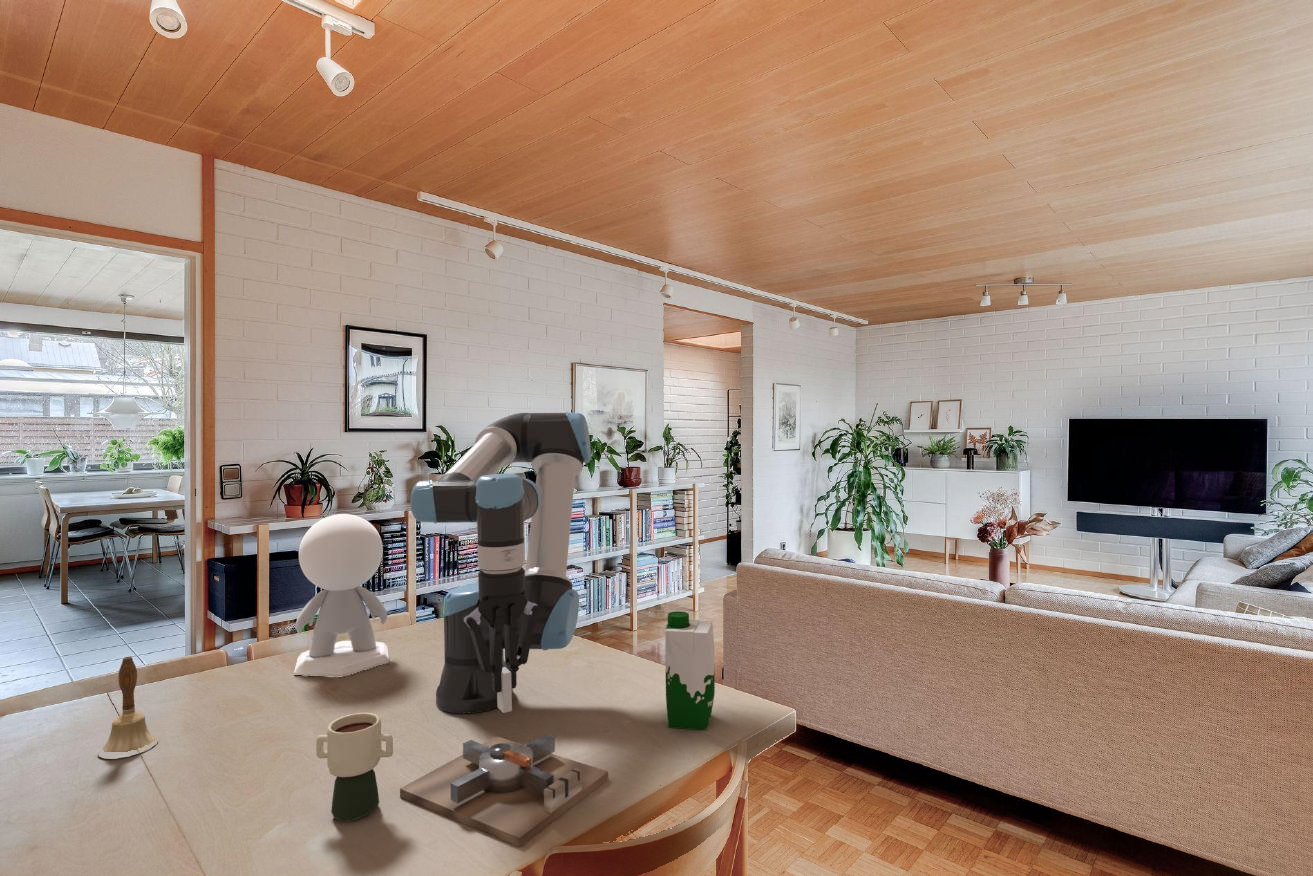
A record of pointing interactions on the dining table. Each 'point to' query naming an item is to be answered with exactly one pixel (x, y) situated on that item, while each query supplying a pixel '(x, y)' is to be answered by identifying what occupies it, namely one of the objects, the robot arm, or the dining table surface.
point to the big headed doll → (341, 597)
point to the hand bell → (128, 716)
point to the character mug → (354, 762)
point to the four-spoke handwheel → (504, 768)
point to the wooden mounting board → (507, 796)
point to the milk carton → (689, 671)
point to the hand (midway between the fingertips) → (504, 708)
